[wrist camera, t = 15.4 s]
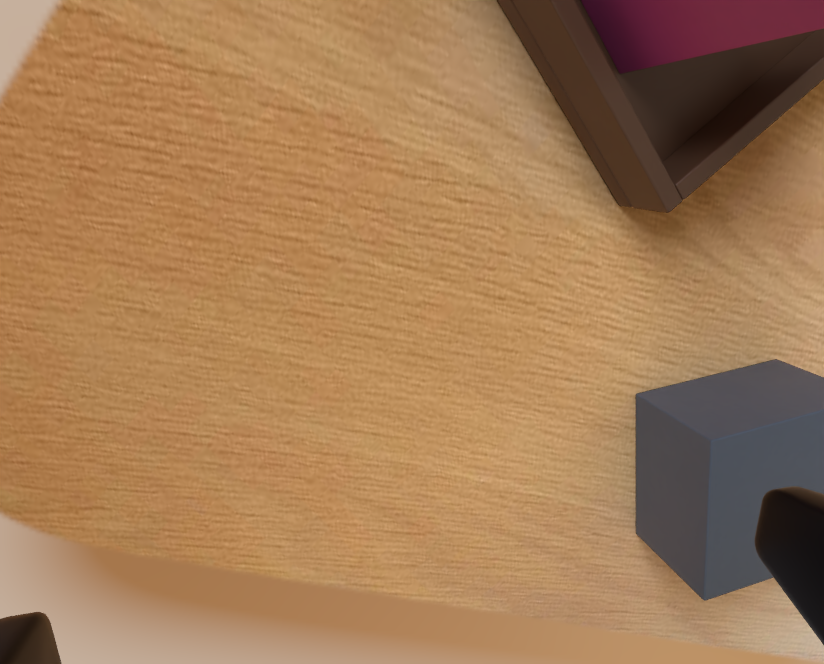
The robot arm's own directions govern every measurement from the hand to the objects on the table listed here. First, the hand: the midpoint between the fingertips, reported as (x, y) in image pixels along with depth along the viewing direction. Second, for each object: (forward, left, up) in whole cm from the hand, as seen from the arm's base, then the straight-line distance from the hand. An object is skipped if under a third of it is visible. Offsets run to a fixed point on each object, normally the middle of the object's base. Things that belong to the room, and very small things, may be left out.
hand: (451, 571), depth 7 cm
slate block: (+15, -7, -12) cm, 21 cm away
